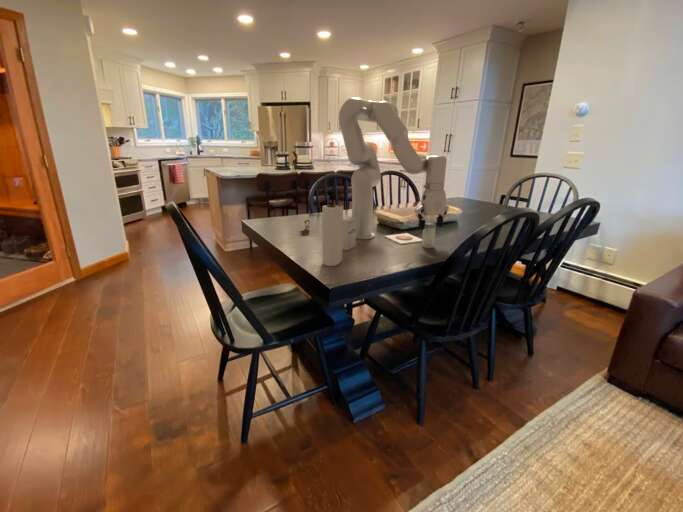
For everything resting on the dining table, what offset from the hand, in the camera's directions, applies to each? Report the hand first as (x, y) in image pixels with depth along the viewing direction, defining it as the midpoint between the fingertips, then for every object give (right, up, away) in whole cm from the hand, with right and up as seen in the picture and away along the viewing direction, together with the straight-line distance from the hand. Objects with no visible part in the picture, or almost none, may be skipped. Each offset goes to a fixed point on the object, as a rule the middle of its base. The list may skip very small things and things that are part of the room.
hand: (430, 227), depth 140 cm
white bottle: (-37, -9, 0) cm, 38 cm away
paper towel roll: (-41, -15, -19) cm, 48 cm away
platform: (-55, 0, +23) cm, 60 cm away
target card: (-9, -4, +13) cm, 16 cm away
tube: (-1, -8, +3) cm, 9 cm away
